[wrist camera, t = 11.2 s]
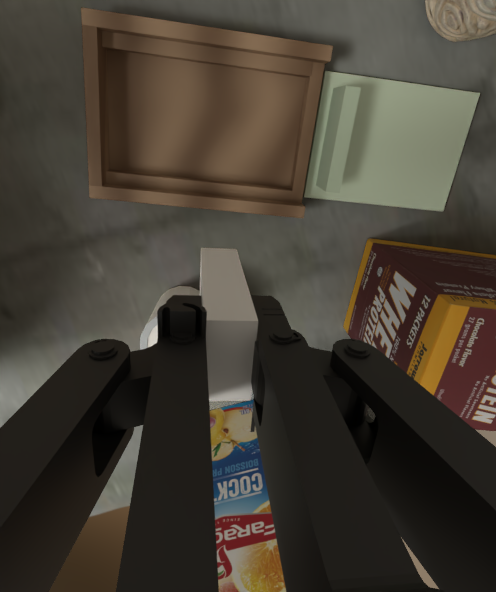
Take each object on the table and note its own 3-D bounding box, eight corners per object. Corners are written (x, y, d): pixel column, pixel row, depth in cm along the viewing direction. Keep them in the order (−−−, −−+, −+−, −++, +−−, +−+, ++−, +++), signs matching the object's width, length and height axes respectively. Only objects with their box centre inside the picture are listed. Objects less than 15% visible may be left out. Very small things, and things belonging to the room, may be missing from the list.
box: (100, 190, 36) (89, 197, 33) (94, 18, 31) (81, 7, 27) (295, 209, 38) (303, 218, 35) (321, 52, 33) (332, 46, 30)
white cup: (230, 305, 42) (234, 339, 35) (190, 350, 44) (187, 390, 37) (176, 266, 39) (170, 296, 33) (136, 316, 41) (123, 352, 35)
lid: (301, 195, 38) (313, 204, 34) (322, 71, 34) (338, 66, 30) (437, 209, 40) (464, 220, 36) (473, 93, 36) (507, 91, 32)
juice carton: (267, 395, 47) (318, 637, 25) (280, 441, 50) (336, 692, 28) (169, 420, 47) (136, 682, 25) (188, 465, 50) (173, 731, 29)
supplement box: (365, 236, 40) (451, 303, 26) (502, 255, 42) (651, 325, 28) (340, 327, 44) (401, 427, 30) (466, 339, 46) (579, 438, 32)
